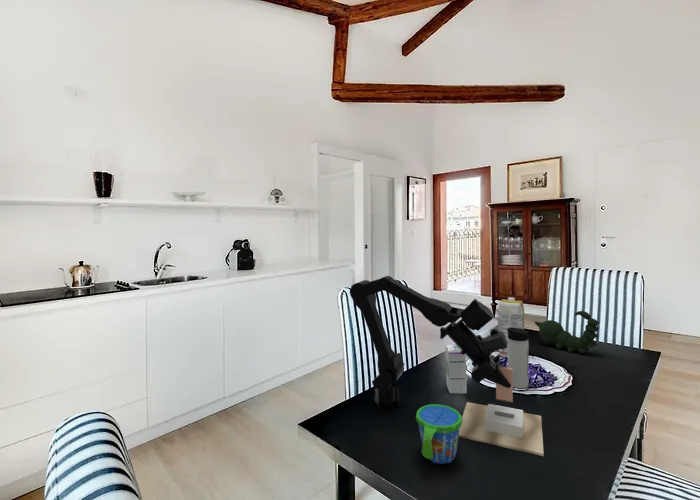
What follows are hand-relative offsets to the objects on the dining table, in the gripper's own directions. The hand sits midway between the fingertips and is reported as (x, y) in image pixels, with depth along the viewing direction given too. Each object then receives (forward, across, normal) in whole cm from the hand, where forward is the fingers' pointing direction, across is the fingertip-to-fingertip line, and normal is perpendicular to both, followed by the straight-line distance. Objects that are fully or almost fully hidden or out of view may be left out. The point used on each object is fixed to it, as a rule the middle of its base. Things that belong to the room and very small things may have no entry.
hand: (509, 385), depth 94 cm
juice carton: (+7, +55, +10) cm, 57 cm away
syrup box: (-3, +17, +21) cm, 27 cm away
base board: (+8, 0, +9) cm, 12 cm away
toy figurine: (+21, +72, -4) cm, 75 cm away
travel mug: (+9, +27, +8) cm, 29 cm away
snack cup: (-2, -18, +19) cm, 27 cm away
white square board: (+8, 0, +9) cm, 12 cm away
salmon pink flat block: (+2, 0, +4) cm, 4 cm away
